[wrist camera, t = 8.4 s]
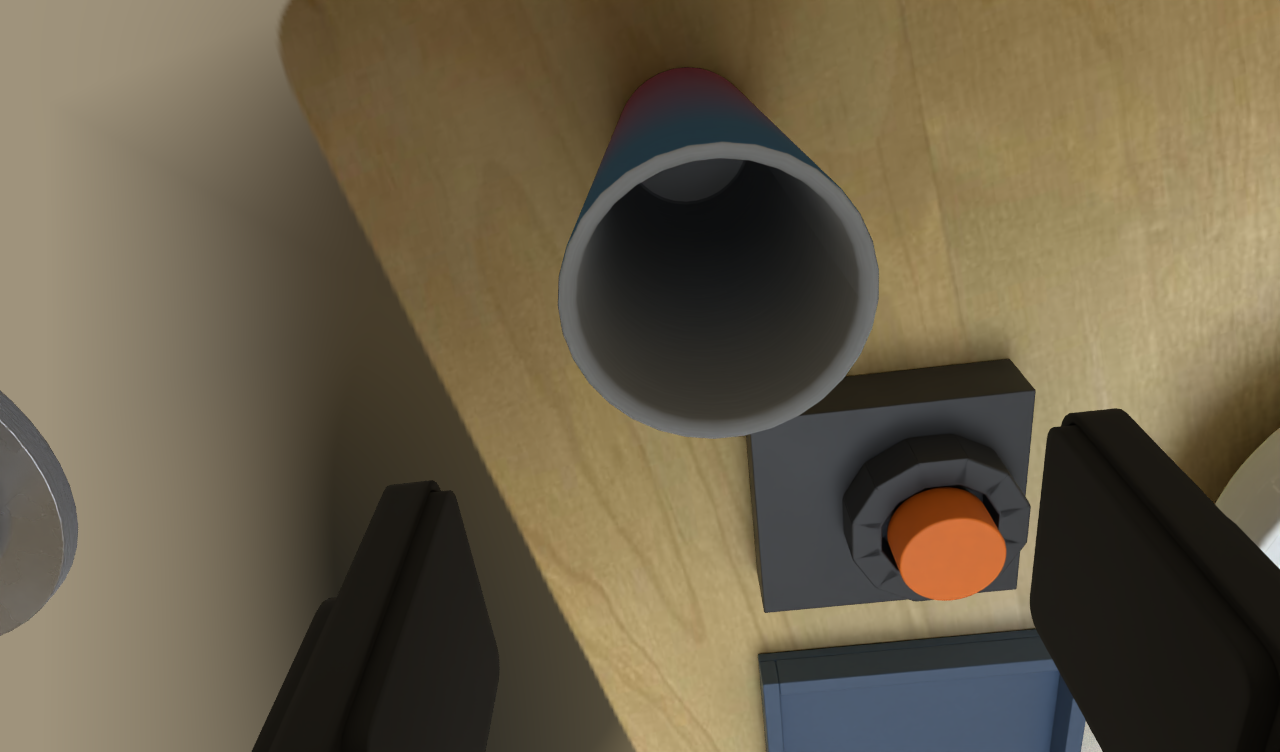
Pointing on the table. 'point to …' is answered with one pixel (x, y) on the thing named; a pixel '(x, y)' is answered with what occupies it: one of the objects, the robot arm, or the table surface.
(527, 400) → the table surface
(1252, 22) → the table surface
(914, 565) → the orange push button
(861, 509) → the push button box
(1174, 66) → the table surface
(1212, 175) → the table surface
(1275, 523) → the serving bowl
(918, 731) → the tray
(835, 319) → the cup
